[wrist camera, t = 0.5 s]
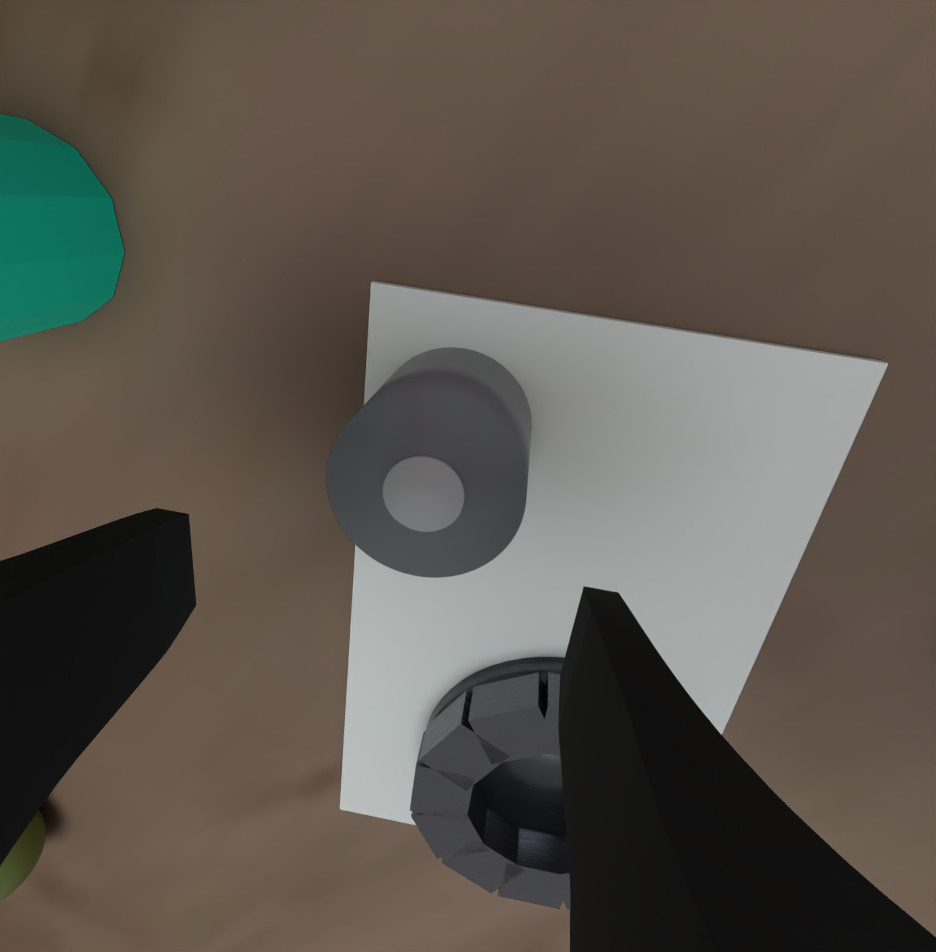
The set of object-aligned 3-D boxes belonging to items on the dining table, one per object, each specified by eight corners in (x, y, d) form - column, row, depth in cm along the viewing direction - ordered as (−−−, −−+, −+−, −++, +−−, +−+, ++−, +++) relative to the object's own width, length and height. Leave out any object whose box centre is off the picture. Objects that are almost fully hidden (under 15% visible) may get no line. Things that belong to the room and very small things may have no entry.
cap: (545, 361, 18) (544, 416, 13) (517, 505, 20) (508, 597, 15) (384, 335, 18) (326, 380, 13) (373, 480, 20) (320, 563, 15)
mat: (881, 360, 17) (888, 363, 17) (656, 866, 27) (658, 875, 27) (374, 280, 18) (370, 282, 17) (342, 801, 28) (339, 808, 28)
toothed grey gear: (728, 687, 22) (749, 745, 20) (650, 866, 27) (660, 930, 24) (439, 632, 23) (427, 682, 20) (413, 817, 27) (400, 875, 25)
